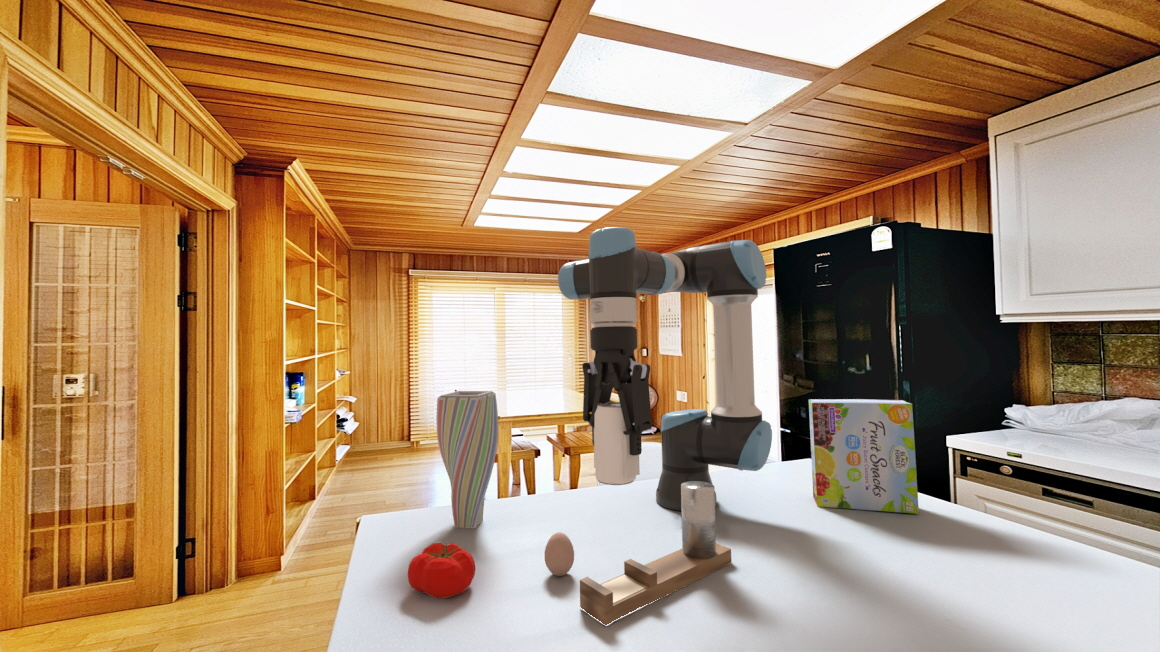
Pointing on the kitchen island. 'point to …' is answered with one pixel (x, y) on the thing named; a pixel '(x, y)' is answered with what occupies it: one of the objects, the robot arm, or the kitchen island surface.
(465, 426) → the vase
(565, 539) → the egg
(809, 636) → the kitchen island surface
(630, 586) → the rail
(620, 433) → the can
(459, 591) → the tomato
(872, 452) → the snack box
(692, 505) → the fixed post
